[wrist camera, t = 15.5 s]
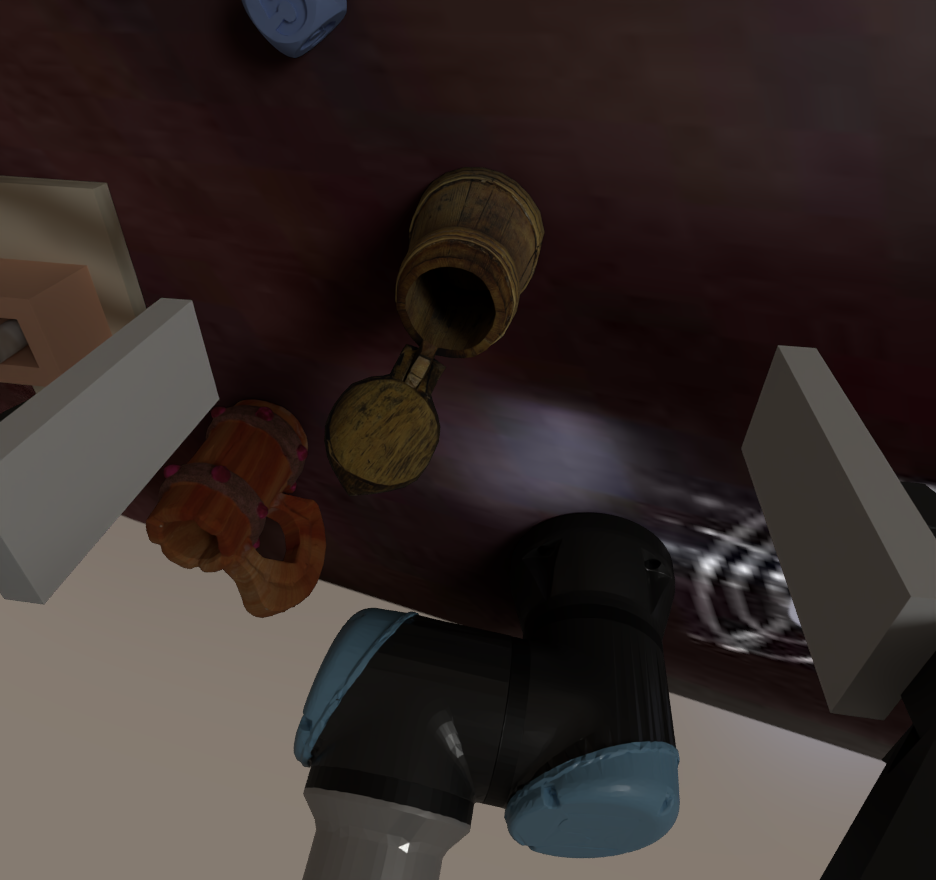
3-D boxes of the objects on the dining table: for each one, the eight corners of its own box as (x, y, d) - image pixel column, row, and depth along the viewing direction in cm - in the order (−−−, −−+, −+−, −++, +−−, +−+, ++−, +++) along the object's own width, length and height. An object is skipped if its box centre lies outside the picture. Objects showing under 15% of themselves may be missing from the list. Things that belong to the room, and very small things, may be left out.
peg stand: (175, 399, 54) (74, 504, 43) (48, 385, 55) (-80, 484, 44) (106, 183, 43) (-51, 251, 32) (-50, 172, 44) (-251, 235, 33)
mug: (201, 408, 54) (95, 530, 42) (262, 365, 50) (163, 486, 38) (317, 515, 60) (252, 649, 48) (378, 484, 56) (324, 620, 45)
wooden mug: (365, 308, 46) (268, 459, 32) (450, 138, 38) (372, 236, 24) (468, 367, 48) (420, 535, 33) (570, 216, 40) (564, 350, 25)
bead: (117, 349, 50) (68, 389, 45) (37, 341, 50) (-19, 380, 46) (86, 265, 45) (29, 299, 41) (-1, 258, 46) (-67, 290, 41)
